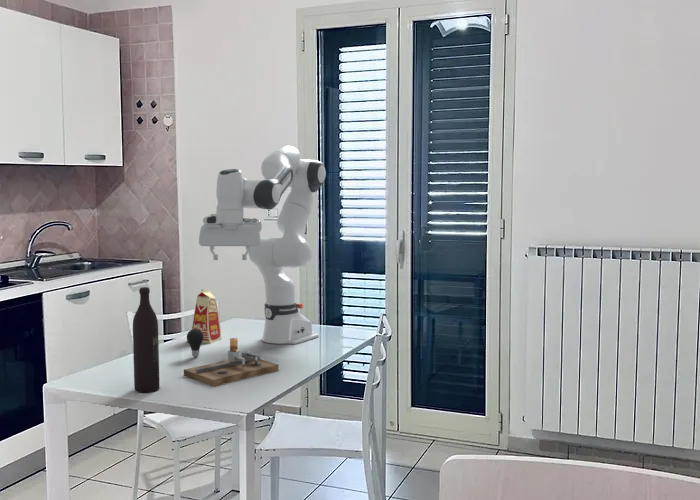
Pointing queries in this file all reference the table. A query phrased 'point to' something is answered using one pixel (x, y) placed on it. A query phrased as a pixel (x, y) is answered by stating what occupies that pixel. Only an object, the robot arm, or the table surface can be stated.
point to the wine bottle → (145, 346)
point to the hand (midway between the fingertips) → (230, 259)
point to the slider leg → (235, 352)
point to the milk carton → (207, 317)
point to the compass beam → (247, 355)
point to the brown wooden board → (231, 372)
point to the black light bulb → (195, 341)
